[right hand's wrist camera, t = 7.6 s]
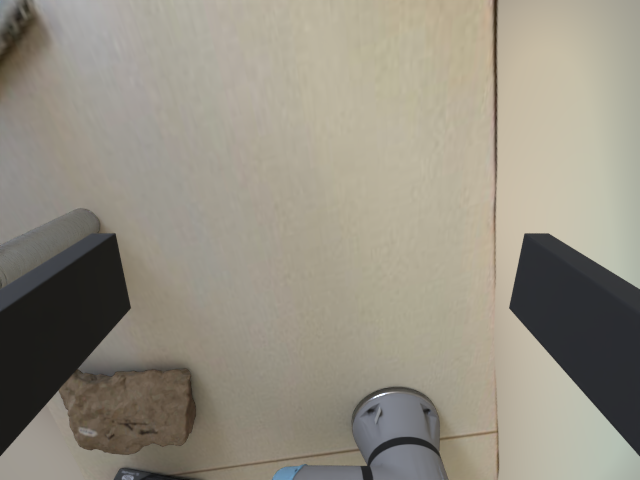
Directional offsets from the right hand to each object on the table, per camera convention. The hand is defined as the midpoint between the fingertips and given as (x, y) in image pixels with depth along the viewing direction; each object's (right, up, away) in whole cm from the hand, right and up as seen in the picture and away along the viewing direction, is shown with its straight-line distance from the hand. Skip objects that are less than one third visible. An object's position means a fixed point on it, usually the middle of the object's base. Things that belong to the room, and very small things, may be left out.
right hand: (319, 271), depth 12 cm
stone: (-32, -26, +54) cm, 67 cm away
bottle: (-34, +3, +42) cm, 54 cm away
